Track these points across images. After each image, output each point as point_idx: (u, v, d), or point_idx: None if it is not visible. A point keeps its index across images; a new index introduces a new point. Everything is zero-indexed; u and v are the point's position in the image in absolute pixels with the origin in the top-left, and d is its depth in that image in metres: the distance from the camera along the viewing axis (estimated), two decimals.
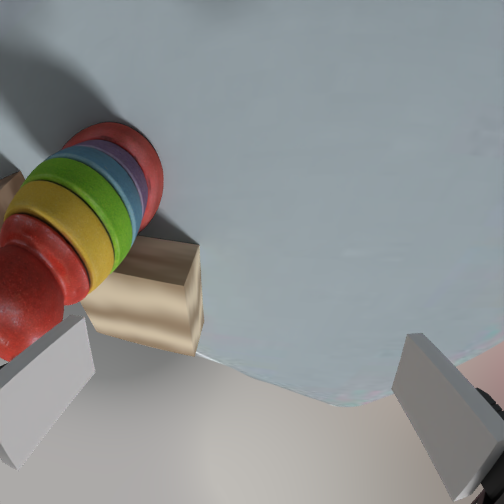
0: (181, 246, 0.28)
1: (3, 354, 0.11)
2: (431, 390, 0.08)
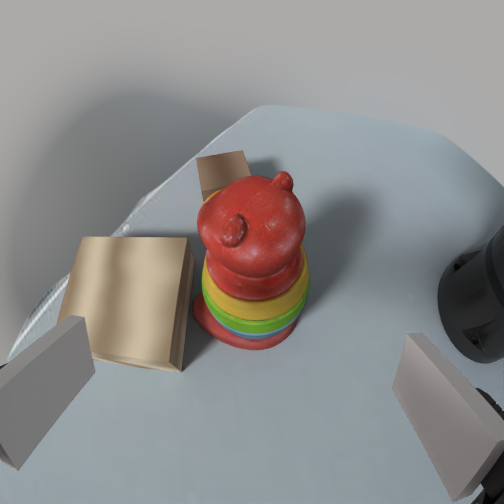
0: (181, 356, 0.29)
1: (252, 211, 0.17)
2: (431, 390, 0.08)
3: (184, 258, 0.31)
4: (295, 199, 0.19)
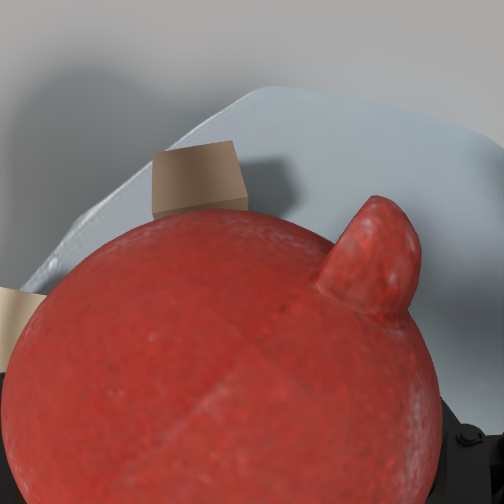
0: None
1: None
2: None
3: None
4: (429, 359, 0.03)
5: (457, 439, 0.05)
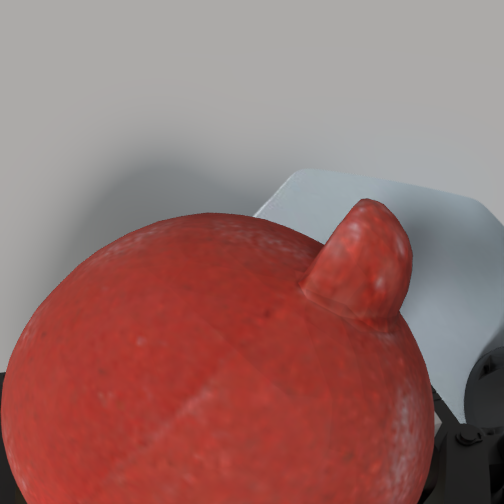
0: None
1: None
2: None
3: None
4: (421, 362, 0.03)
5: (456, 439, 0.05)
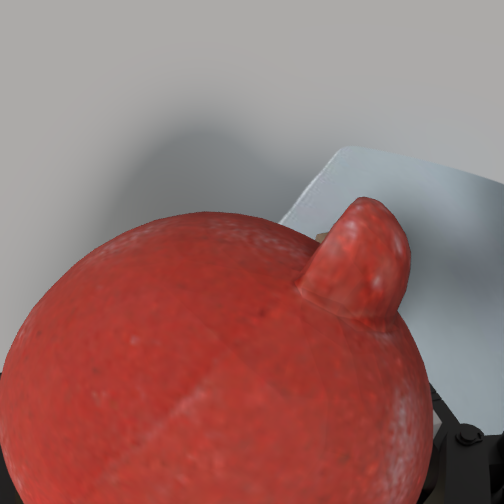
0: None
1: None
2: None
3: None
4: (419, 362, 0.03)
5: (456, 439, 0.05)
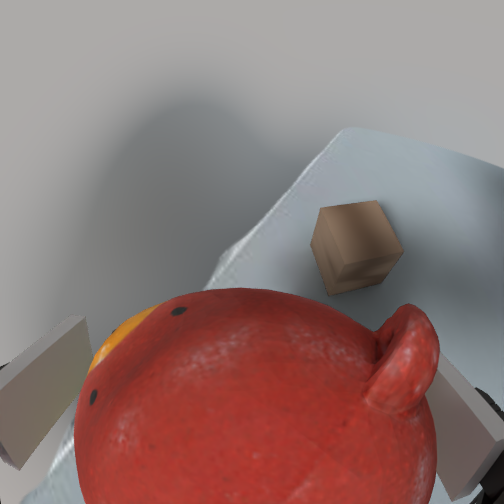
0: None
1: None
2: (430, 389, 0.08)
3: None
4: (432, 425, 0.04)
5: None
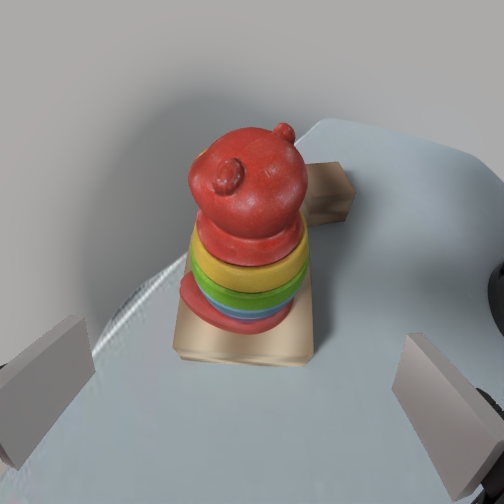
0: None
1: (250, 156, 0.15)
2: (431, 390, 0.08)
3: (309, 259, 0.33)
4: (297, 151, 0.17)
5: None
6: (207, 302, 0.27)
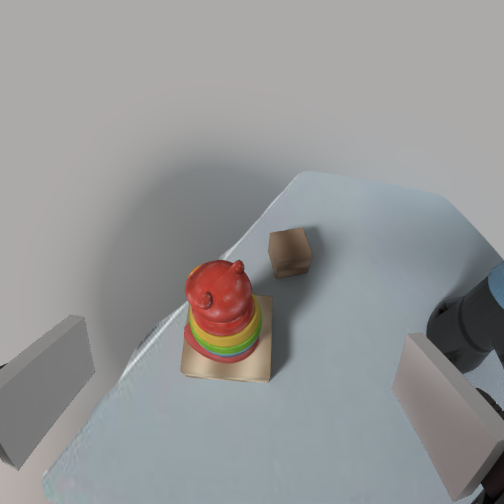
0: None
1: (216, 290, 0.29)
2: (432, 390, 0.08)
3: None
4: (244, 279, 0.31)
5: None
6: None
